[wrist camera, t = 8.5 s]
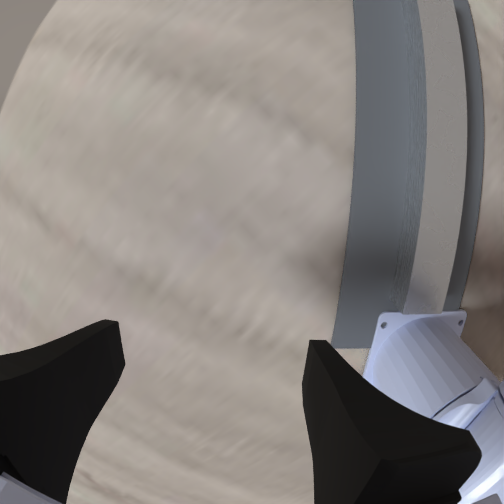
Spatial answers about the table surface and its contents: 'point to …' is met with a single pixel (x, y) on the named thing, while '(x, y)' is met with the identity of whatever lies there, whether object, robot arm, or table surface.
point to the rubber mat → (396, 168)
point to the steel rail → (431, 157)
